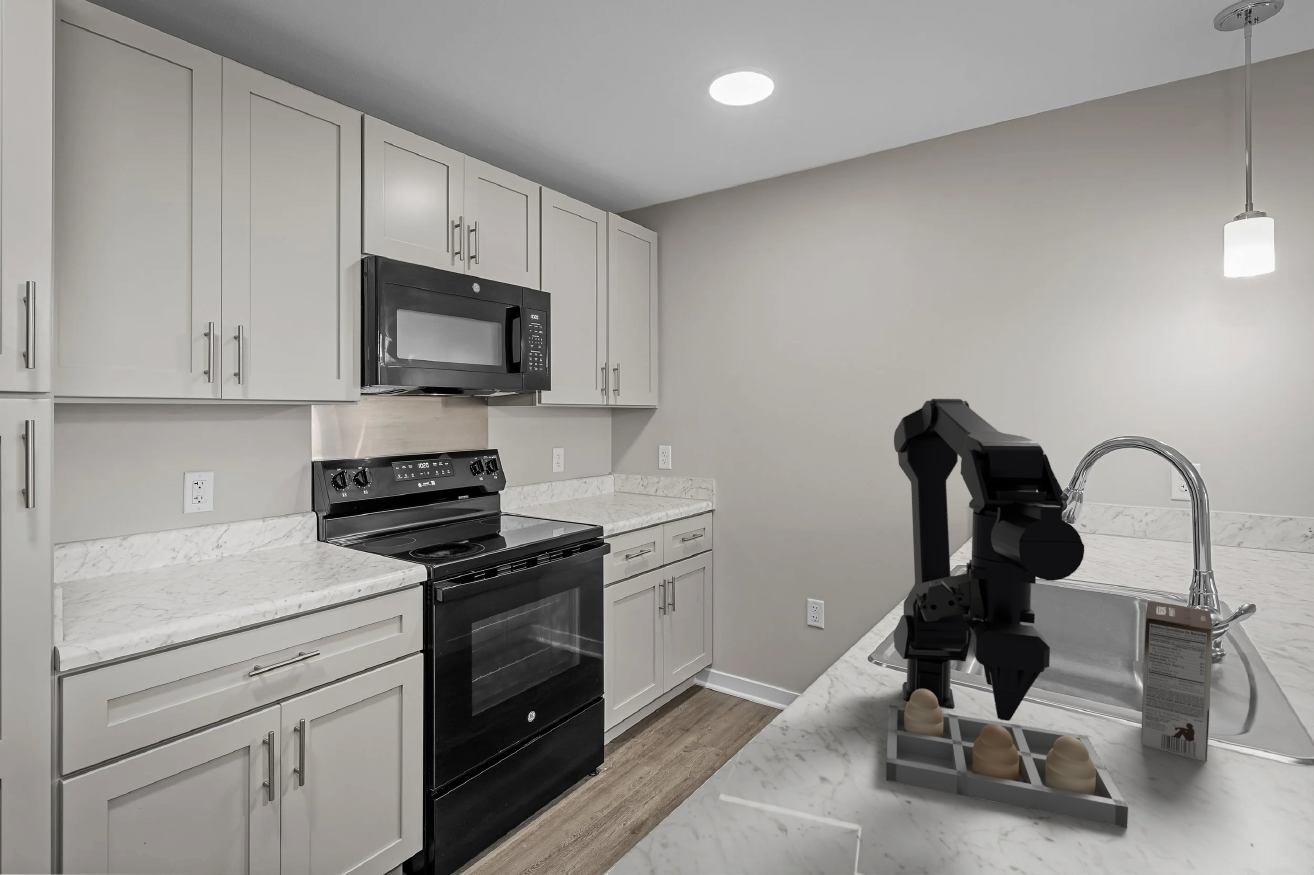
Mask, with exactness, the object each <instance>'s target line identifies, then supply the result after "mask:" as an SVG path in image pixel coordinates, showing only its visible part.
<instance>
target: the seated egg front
mask: <svg viewBox="0 0 1314 875" xmlns="http://www.w3.org/2000/svg"><path fill="white" fill-rule="evenodd" d="M1095 783H1096V770H1095V766H1094V764H1093V762H1092V760H1091V759H1090V757H1089V752H1088V749H1087V747H1086V746H1085V745H1084V744H1083V742H1081V741H1080V740H1079V739H1077V738H1075V737H1072V736H1062V737H1060V738H1058V739H1057V740H1056V741H1055V743H1054V745H1053V748H1052V749H1051V750H1050V751H1049V753H1048V755H1047V757H1046V774H1045V787H1049V788H1055V789H1060V790H1066V791H1071V792H1077V793H1082V794H1087V795H1093V796H1095Z"/></svg>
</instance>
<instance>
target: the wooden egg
mask: <svg viewBox="0 0 1314 875" xmlns="http://www.w3.org/2000/svg"><path fill="white" fill-rule="evenodd" d="M1018 771H1019V756H1018V752H1017V749H1016V747H1015V746H1014V744H1013V740H1012V737H1011V735H1010V733H1009V732H1008V731H1007V730H1006V729H1005V728H1004V727H1002V726H1000V725H997V724H989V725H986V726H985V727H983V728H982V730H981V732H980V736H979V737H978V738H977V739H976V741H975V743H974V746H973V769H972V773H974V774H979V775H984V776H990V777H995V778H1001V779H1006V780H1012V781H1017V782H1018Z"/></svg>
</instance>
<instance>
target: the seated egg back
mask: <svg viewBox="0 0 1314 875" xmlns="http://www.w3.org/2000/svg"><path fill="white" fill-rule="evenodd" d="M904 707H905V712H904V732H910V733H916V734H922V735H927V736H933V737H939V738H943V713H944V712H943V711H942V707H939V705H938V700H937V698H936V696H935V695H934V694H933V693H932V692H931V691H929V690H927V689H918V690H916V691H914V692H913V693H912V695H911V697H910V701H909V702H907V703H906V705H905V706H904Z"/></svg>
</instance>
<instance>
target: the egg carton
mask: <svg viewBox="0 0 1314 875" xmlns="http://www.w3.org/2000/svg"><path fill="white" fill-rule="evenodd" d="M905 707H906V706H900V705H894V704H889V707H888V724H887V725H888V726H887V727H888V728H887V744H886V745H887V746H886V747H887V748H886V764H885V766H886V769H885V770H886V772H885V773H886V774H885V778H886V779H885V780H886V782H891V783H898V784H901V785H907V786H911V787H919V788H922V789H928V790H933V791H939V792H943V793H948V794H952V795H958V796H963V797H969V798H973V799H979V800H984V801H989V802H994V803H999V804H1003V805H1008V806H1015V807H1020V808H1024V809H1029V810H1034V811H1035V810H1036V811H1039V812H1045V813H1051V814H1054V815H1060V816H1064V817H1070V818H1073V819H1074V818H1075V819H1080V820H1086V821H1090V822H1096V823H1099V824H1100V823H1101V824H1104V825H1105V824H1107V825H1110V826H1115V827H1121V828H1126V829H1127V828H1128V817H1129V815H1128V814H1129V807H1128V805H1127V803H1126V801H1125V800H1124V797H1123V795H1122V794H1121V792H1120V791H1119V789H1118V787H1117V786H1116V783H1115V781H1114V780H1113V778H1112V776H1111V774H1110V773H1109V771H1108V769H1107V768H1106V766H1105V765H1104V763H1103V760H1102V759H1101V757H1100V756H1099V754H1098V752H1097V750H1096V749H1095V747H1094V745H1093V744H1092V742H1091V740H1090V738H1089V736H1088V735H1085V734H1078V733H1071V732H1066V731H1061V730H1059V731H1058V730H1052V729H1048V728H1047V729H1046V728H1039V727H1036V726H1035V727H1033V726H1027V725H1022V724H1021V725H1019V724H1016V723H1015V724H1014V723H1009V722H1008V723H1007V722H1003V721H995V720H990V719H989V720H988V719H983V718H976V717H970V716H964V715H959V714H952V713H951V714H950V713H945V712H942V713H943V738H939V737H933V736H927V735H922V734H916V733H910V732H904V712H905ZM989 724H997V725H1000V726H1002V727H1004V728H1005V729H1006V730H1007V731H1008V732H1009V733H1010V735H1011V737H1012V740H1013V744H1014V746H1015V747H1016V749H1017V752H1018V756H1019V771H1018V782H1017V781H1012V780H1006V779H1001V778H995V777H990V776H984V775H979V774H974V773H972V769H973V746H974V743H975V741H976V739H977V738H978V737H979V736H980V732H981V730H982V728H983V727H985V726H986V725H989ZM1062 736H1072V737H1075V738H1077V739H1079V740H1080V741H1081V742H1083V744H1084V745H1085V746H1086V747H1087V749H1088V752H1089V757H1090V759H1091V760H1092V762H1093V764H1094V766H1095V770H1096V783H1095V796H1093V795H1087V794H1082V793H1077V792H1071V791H1066V790H1060V789H1055V788H1049V787H1045V774H1046V757H1047V755H1048V753H1049V751H1050V750H1051V749H1052V748H1053V745H1054V743H1055V741H1056V740H1057V739H1058V738H1060V737H1062Z"/></svg>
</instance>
